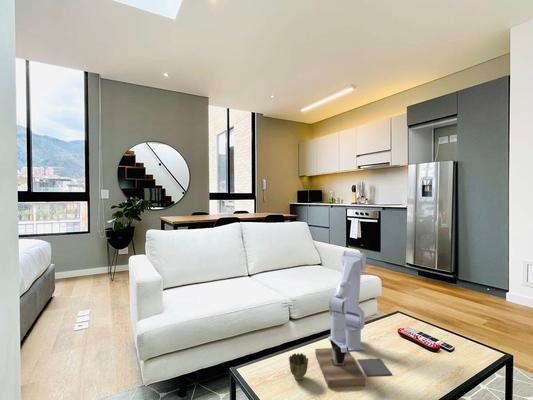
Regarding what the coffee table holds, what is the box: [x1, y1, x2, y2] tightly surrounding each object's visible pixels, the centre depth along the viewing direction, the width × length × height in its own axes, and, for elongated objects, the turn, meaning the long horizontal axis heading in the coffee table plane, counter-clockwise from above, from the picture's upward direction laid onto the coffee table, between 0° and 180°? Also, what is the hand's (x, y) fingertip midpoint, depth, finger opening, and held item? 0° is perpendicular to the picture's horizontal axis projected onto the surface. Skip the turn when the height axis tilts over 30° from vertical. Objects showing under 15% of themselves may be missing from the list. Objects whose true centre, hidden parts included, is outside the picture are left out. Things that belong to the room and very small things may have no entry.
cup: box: [288, 352, 309, 381], centre depth 110 cm, size 8×7×8 cm
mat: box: [357, 358, 393, 377], centre depth 116 cm, size 10×10×1 cm
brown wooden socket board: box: [314, 347, 366, 389], centre depth 115 cm, size 20×14×3 cm
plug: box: [331, 347, 345, 366], centre depth 115 cm, size 4×4×8 cm
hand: (338, 359), depth 115 cm, fingers closed on plug, 4 cm apart
